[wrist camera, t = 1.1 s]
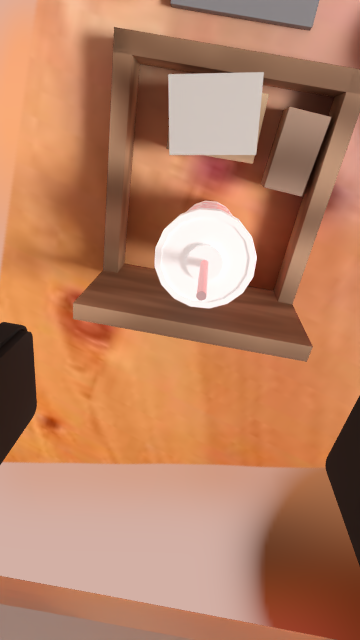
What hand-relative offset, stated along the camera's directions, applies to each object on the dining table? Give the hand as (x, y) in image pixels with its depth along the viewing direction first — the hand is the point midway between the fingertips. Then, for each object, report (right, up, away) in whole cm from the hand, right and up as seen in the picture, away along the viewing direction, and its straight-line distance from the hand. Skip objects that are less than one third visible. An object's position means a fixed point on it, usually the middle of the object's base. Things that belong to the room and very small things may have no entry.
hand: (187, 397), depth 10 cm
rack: (+3, +12, +17) cm, 21 cm away
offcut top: (+2, +15, +12) cm, 20 cm away
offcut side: (+8, +15, +15) cm, 23 cm away
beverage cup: (+2, +10, +18) cm, 21 cm away
